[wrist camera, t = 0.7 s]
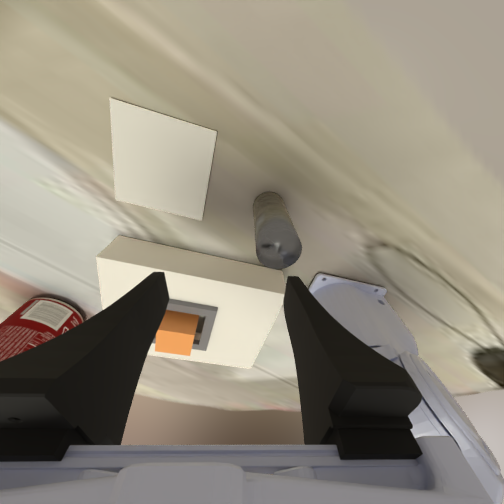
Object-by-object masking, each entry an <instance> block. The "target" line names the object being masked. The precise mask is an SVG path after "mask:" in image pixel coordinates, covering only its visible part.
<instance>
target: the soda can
mask: <svg viewBox="0 0 504 504" xmlns="http://www.w3.org/2000/svg"><path fill="white" fill-rule="evenodd" d="M81 323H83V318H82V316H81V315H80V313H79V312H78V311H77V310H76V309H75V308H74V307H72V306H71V305H69V304H68V303H66V302H63V301H60V300H56V299H52V298H45V297H40V298H33V299H31V300H29V301H27V302H26V303H25V304H23V305H22V306H21V307H20V308H19V309H18V310H16V311H15V312H14V313H13V314H12V315H10V316H9V317H8V318H7V319H6V320H5V321H3V322H2V323H1V324H0V361H3V360H5V359H8V358H10V357H12V356H15V355H17V354H20V353H22V352H24V351H27V350H29V349H31V348H34V347H36V346H38V345H40V344H42V343H44V342H47V341H49V340H51V339H53V338H55V337H57V336H59V335H61V334H63V333H65V332H66V331H68V330H70V329H72V328H74V327H76V326H77V325H79V324H81Z"/></svg>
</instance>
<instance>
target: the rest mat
mask: <svg viewBox="0 0 504 504" xmlns="http://www.w3.org/2000/svg"><path fill="white" fill-rule="evenodd" d="M109 99H110V116H111V134H112V151H113V168H114V186H115V200H118V201H122V202H126V203H130V204H134V205H138V206H143V207H147V208H151V209H155V210H159V211H163V212H167V213H171V214H175V215H180V216H184V217H188V218H192V219H196V220H200V221H202V218H203V212H204V206H205V201H206V195H207V189H208V183H209V177H210V172H211V166H212V160H213V154H214V148H215V143H216V137H217V131H215V130H211V129H208V128H205V127H202V126H199V125H196V124H192V123H189V122H186V121H183V120H180V119H177V118H173V117H170V116H167V115H164V114H161V113H158V112H154V111H151V110H148V109H145V108H142V107H139V106H135V105H132V104H129V103H126V102H123V101H120V100H116V99H113V98H109Z"/></svg>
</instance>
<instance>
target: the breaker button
mask: <svg viewBox="0 0 504 504" xmlns="http://www.w3.org/2000/svg"><path fill="white" fill-rule="evenodd" d="M198 319H199V315H195V314H189V313H183V312H177V311H171V310H166V312H165V315H164V317H163V320H162V322H161V324H160V326H159V329H158V331H157V333H156V343H155V351H157V352H164V353H171V354H178V355H186V356H190V354H191V349H192V345H193V341H194V337H195V332H196V328H197V324H198Z"/></svg>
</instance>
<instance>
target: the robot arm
mask: <svg viewBox="0 0 504 504" xmlns="http://www.w3.org/2000/svg"><path fill="white" fill-rule="evenodd" d="M323 278H325V279H323ZM375 289H376V290H375ZM386 292H387V290H386V289H385V288H384V287H380V286H375V285H371V284H366V283H362V282H358V281H353V280H349V279H344V278H340V277H335V276H331V275H326V274H322V273H319V274H317V275H316V276H315V278H314V280H313V282H312V283H311V285H310V287H309V289H307V287H306V286H305V285H304V283H303V282H302V281H301V279H300V278H299V277H297V276H288V278H287V283H286V289H285V294H284V300H283V304H284V313H285V319H286V323H287V328H288V332H289V336H290V340H291V344H292V348H293V353H294V358H295V364H296V371H297V378H298V386H299V394H300V403H301V412H302V421H303V432H304V443H305V445H121V441H122V437H123V433H124V429H125V426H126V422H127V417H128V414H129V410H130V407H131V404H132V400H133V396H134V393H135V390H136V387H137V383H138V380H139V377H140V374H141V371H142V368H143V365H144V362H145V359H146V356H147V354H148V351H149V349H150V346H151V344H152V342H153V340H154V338H155V335H156V333H157V331H158V329H159V326H160V324H161V322H162V320H163V317H164V315H165V312H166V309H167V305H168V302H169V293H168V288H167V283H166V278H165V273H164V272H153V273H151V274H150V275H149V276H147V277H146V278H145V279H144V280H142V281H141V282H140V283H139V284H138V285H136V286H135V287H134V288H133V289H131V290H130V291H129V292H127V293H126V294H125V295H124V296H122V297H121V298H119V299H118V300H117V301H115V302H114V303H113V304H111V305H110V306H108V307H107V308H105V309H104V310H102V311H101V312H99V313H98V314H96V315H95V316H93V317H91V318H90V319H88V320H86V321H85V322H83V323H81V324H79V325H77V326H76V327H74V328H72V329H70V330H68V331H66V332H65V333H63V334H61V335H59V336H57V337H55V338H53V339H51V340H49V341H47V342H44V343H42V344H40V345H38V346H36V347H34V348H31V349H29V350H27V351H24V352H22V353H20V354H17V355H15V356H12V357H10V358H8V359H5V360H3V361H0V504H502V501H503V497H504V479H503V477H502V475H501V473H500V471H501V470H500V466H499V464H498V462H497V460H496V458H495V457H494V455H493V453H492V452H491V450H490V449H489V447H488V446H487V445H486V443H485V442H484V441H483V439H482V438H481V437H480V436H479V434H478V433H477V431H476V429H475V428H474V426H473V425H472V423H471V422H470V420H469V418H468V417H467V415H466V414H465V412H464V411H463V410H462V408H461V407H460V405H459V404H458V403H457V401H456V400H455V399H454V397H453V396H452V395H451V393H450V392H449V391H448V389H447V388H446V387H445V386H444V384H443V383H442V382H441V380H440V379H439V378H438V377H437V376H436V374H435V373H434V372H433V371H432V370H431V368H430V367H429V366H428V365H427V364H426V363H425V362H424V361H423V360H422V359H421V358H420V357H419V356H418V349H417V344H416V341H415V339H414V337H413V335H412V334H411V332H410V331H409V329H408V328H407V327H406V325H405V324H404V323H403V321H402V320H401V319H400V318H399V316H398V315H397V314H396V312H395V311H394V310H393V308H392V307H391V306H390V304H389V303H388V302H387V300H386V299H385V298H384V295H385V294H386ZM269 474H273V475H269Z"/></svg>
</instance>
